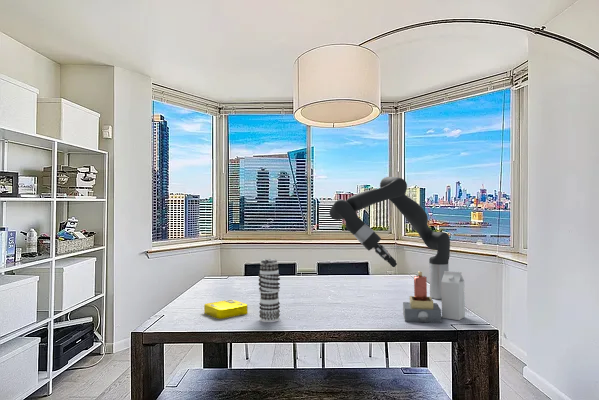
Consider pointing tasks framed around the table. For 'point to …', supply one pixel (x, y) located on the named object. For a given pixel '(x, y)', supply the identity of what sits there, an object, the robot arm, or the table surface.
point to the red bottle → (420, 287)
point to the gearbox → (421, 311)
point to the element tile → (225, 309)
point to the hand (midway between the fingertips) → (395, 264)
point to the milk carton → (453, 295)
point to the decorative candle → (269, 290)
